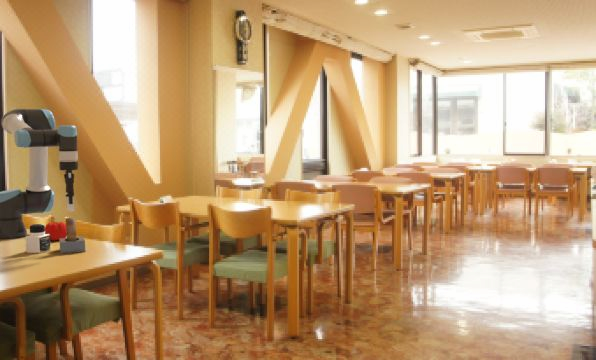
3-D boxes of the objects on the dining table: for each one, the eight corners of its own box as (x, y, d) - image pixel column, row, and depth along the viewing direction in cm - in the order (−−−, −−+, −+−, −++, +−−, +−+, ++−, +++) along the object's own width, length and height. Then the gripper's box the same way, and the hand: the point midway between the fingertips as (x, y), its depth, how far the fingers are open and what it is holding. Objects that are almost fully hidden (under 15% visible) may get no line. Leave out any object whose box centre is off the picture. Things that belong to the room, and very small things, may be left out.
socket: (59, 249, 245) (59, 238, 244) (83, 247, 249) (83, 236, 248) (60, 254, 236) (59, 242, 235) (85, 251, 240) (84, 240, 239)
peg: (67, 249, 243) (65, 218, 242) (77, 248, 245) (75, 217, 243) (67, 251, 240) (65, 219, 238) (77, 250, 241) (75, 218, 240)
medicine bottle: (40, 253, 237) (39, 225, 236) (25, 252, 239) (24, 225, 238) (50, 250, 244) (49, 223, 243) (36, 249, 246) (35, 222, 245)
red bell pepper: (50, 238, 272) (49, 220, 272) (72, 238, 272) (71, 220, 271) (39, 242, 262) (39, 224, 261) (62, 242, 261) (61, 224, 261)
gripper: (58, 159, 249) (60, 205, 251) (59, 163, 226) (61, 214, 228) (76, 159, 252) (78, 204, 254) (79, 162, 229) (81, 212, 231)
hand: (70, 209), depth 241 cm, fingers open, 13 cm apart
